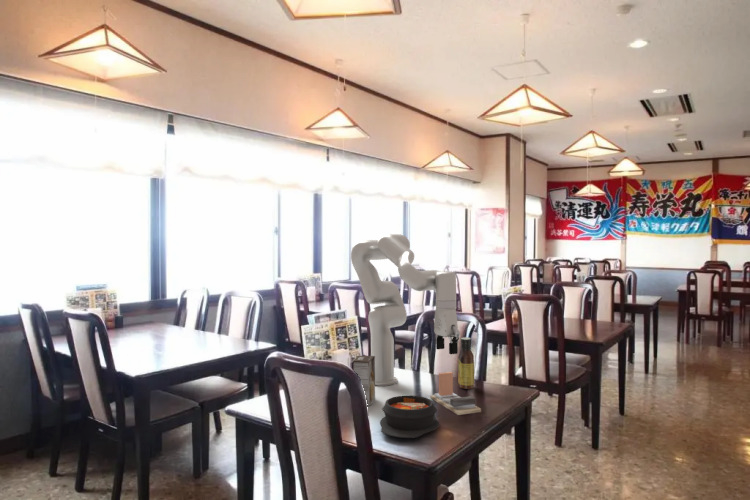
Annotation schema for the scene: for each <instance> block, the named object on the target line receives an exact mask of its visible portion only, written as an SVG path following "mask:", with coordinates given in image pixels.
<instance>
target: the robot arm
mask: <svg viewBox="0 0 750 500" xmlns="http://www.w3.org/2000/svg"><path fill="white" fill-rule="evenodd" d="M410 248H411V244H410V240H409V239H408V237H407V236H405V235H403V234H396V233H394V234H392V233H390V234H389V233H388V234H383V235H381V236H380V237H379V238H378V239H364V240H363V239H362V240H359V241H357V242H355V243H354V245H353V247H352V248H351V253H350V260H351V262H352V263H351V264H352V266H353V268H354V271H355V272H356V274H357V277H358V281H359V283H360V287H361V289H362V292H363V293H362V294H363V295H364V298H365V300H366V302H367V303H368V304H370V305H378V306H375V307H372V309H370V311H369V312H368V317H367V320H368V325H369V331H370V356H375V386H378V387H379V386H380V387H381V386H384V387H385V386H391V385H392V386H393V385H395V384H397V383H398V382H399V380H398V377H396V376H395V361H394V360H395V343H394V339H395V338H394V336H393V333H392V331H391V328H396V327H401V326H403V325H404V324H405V323H406V321H407V318H408V317H407V316H408V315H407V308H406V307H405V304H404V301H403V298H402V295H401V292H400V290H399V287H398V286H397V284H396V283H394V282H393V281H391V280H382V279H381V278H380V275H379V272H378V270H377V268H376V267H375V265H373V264H372V262H371V261H377V260H378V261H379V260H387V259H388V260H389V261H390V262H391V263H393V264H394V265H395V266H396V267H397V269H398V270H397V271H398V274H399V277H400V279H401V280H402V281H403V283H404V284H406V285H408V286H409V288H411V289H412V290H414V291H416V292H425V291H426V292H427V291H435V310H434V321H433V322H434V323H433V331H434V334H435V348H436V350H443V349H445V338H448V340H449V343H448V354H450V355H457V354H458V353H459V349H458V348H459V347H458V343H459V341H460V334H461V332H460V330H459V329H458V325H459V324H458V315H457V274H456V272H454V271H449V270H447V271H446V270H444V271H441V270H436V269H435V270H434V269H432V270H429V269H428V270H419V269H418V268H416V267H415V266H414V265H412V263H413V262H414V260H415V252H414V251H412V249H410ZM380 304H381V305H380ZM382 304H384V305H382Z"/></svg>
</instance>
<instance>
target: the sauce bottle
mask: <svg viewBox="0 0 750 500" xmlns="http://www.w3.org/2000/svg"><path fill="white" fill-rule="evenodd" d="M471 343H472V338H471V337H468V336H467V337H466V336H463V337H461V338H460V345H461V347H460V350H459V351H460V352H459V354H458V358H457V359H458V360H457V364H458V365H457V366H458V367H457V368H458V370H457V371H458V381H457V382H458V387H459V388H460V389H463V390H471V389H474V387H475V360H474V359H475V357H474V353H473V351H472V347H471V346H472V345H471Z"/></svg>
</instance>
